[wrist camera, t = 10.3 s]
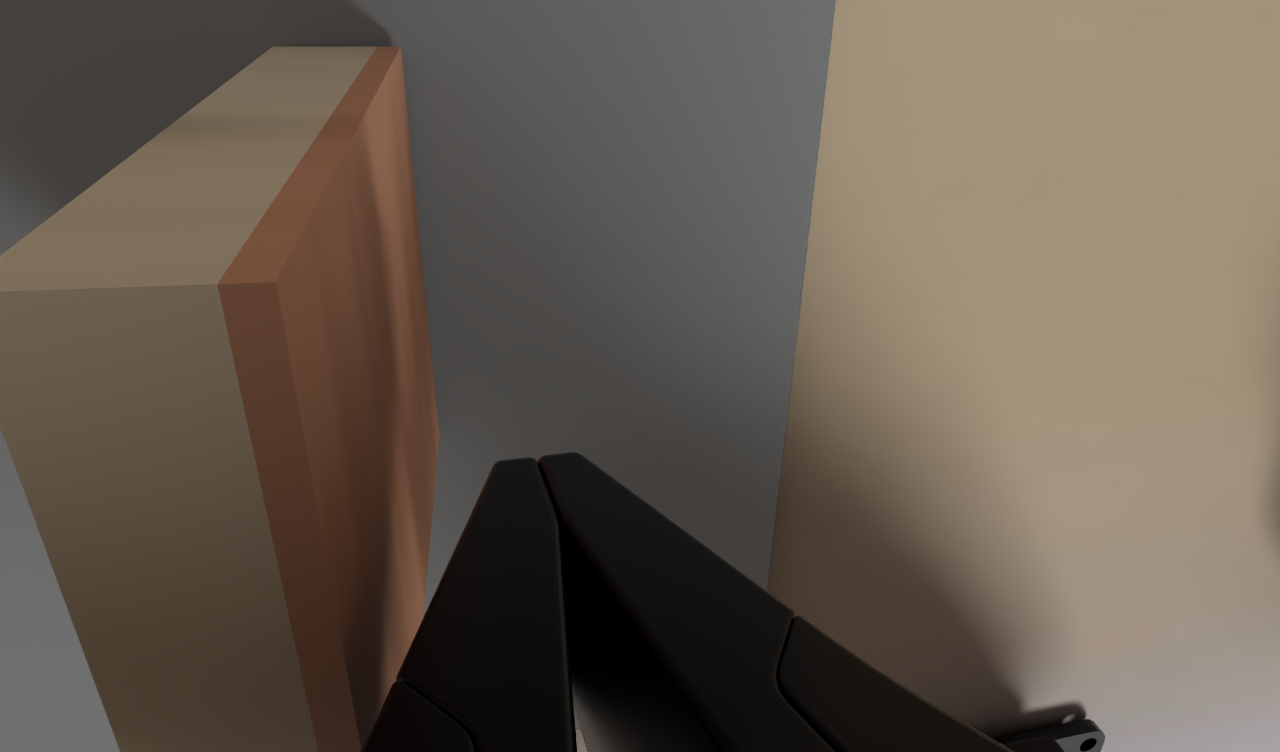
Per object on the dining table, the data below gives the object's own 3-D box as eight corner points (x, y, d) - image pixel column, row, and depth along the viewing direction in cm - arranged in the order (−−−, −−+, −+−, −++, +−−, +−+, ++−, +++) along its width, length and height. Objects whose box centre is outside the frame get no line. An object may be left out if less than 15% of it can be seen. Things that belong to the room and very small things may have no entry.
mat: (745, 674, 20) (754, 695, 20) (-201, 847, 16) (-219, 878, 16) (901, -786, 10) (930, -822, 9) (-1635, -1321, 6) (-1827, -1436, 5)
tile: (439, 436, 15) (395, 934, 8) (337, 441, 14) (197, 962, 8) (400, 46, 12) (276, 281, 5) (272, 46, 12) (-49, 292, 5)
